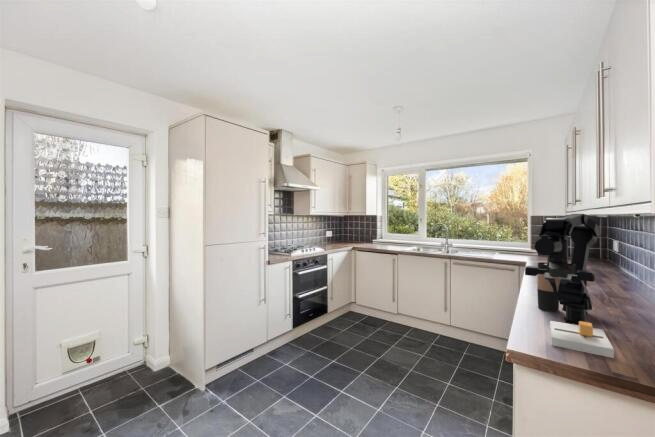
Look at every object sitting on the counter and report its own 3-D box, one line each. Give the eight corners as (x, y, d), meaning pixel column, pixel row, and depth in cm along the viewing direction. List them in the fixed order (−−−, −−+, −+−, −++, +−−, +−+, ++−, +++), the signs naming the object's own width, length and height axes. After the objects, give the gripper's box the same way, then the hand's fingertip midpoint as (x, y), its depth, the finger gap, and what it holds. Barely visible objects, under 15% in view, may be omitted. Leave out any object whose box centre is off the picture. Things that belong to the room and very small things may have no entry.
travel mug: (537, 305, 131) (537, 261, 130) (559, 308, 126) (559, 263, 126) (536, 309, 125) (536, 263, 125) (559, 313, 120) (559, 265, 120)
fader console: (549, 327, 104) (549, 320, 104) (602, 336, 96) (602, 329, 96) (551, 345, 90) (551, 336, 90) (613, 358, 82) (613, 349, 81)
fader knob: (578, 330, 94) (578, 321, 94) (590, 332, 92) (591, 323, 92) (580, 334, 91) (580, 324, 91) (592, 336, 89) (592, 326, 89)
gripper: (524, 253, 100) (524, 298, 100) (597, 258, 89) (597, 308, 89) (525, 250, 109) (525, 291, 109) (591, 254, 98) (591, 300, 98)
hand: (557, 297), depth 101 cm, fingers closed
